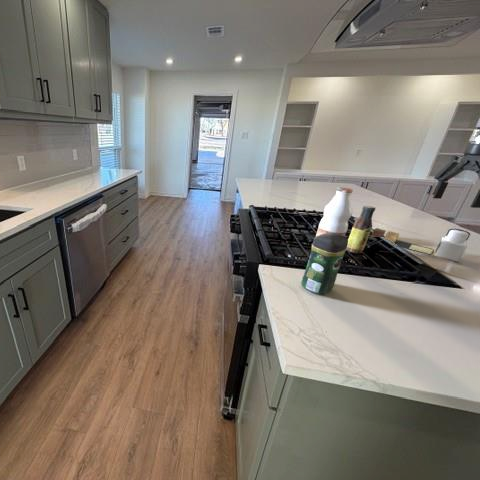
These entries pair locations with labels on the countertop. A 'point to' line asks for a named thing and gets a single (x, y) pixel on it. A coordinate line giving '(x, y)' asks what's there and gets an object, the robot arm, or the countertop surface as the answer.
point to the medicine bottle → (453, 245)
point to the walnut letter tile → (378, 233)
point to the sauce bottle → (361, 230)
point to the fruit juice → (337, 213)
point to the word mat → (411, 246)
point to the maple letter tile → (392, 236)
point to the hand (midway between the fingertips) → (454, 202)
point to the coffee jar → (324, 262)
